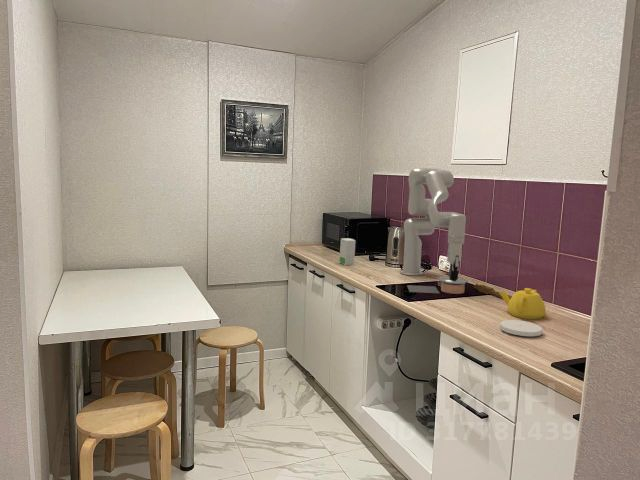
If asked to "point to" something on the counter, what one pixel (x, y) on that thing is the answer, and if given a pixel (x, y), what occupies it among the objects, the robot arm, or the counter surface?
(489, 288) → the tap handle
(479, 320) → the counter surface
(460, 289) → the bowl
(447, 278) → the lid
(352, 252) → the white cylinder
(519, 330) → the plastic lid
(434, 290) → the mat
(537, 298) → the teapot
